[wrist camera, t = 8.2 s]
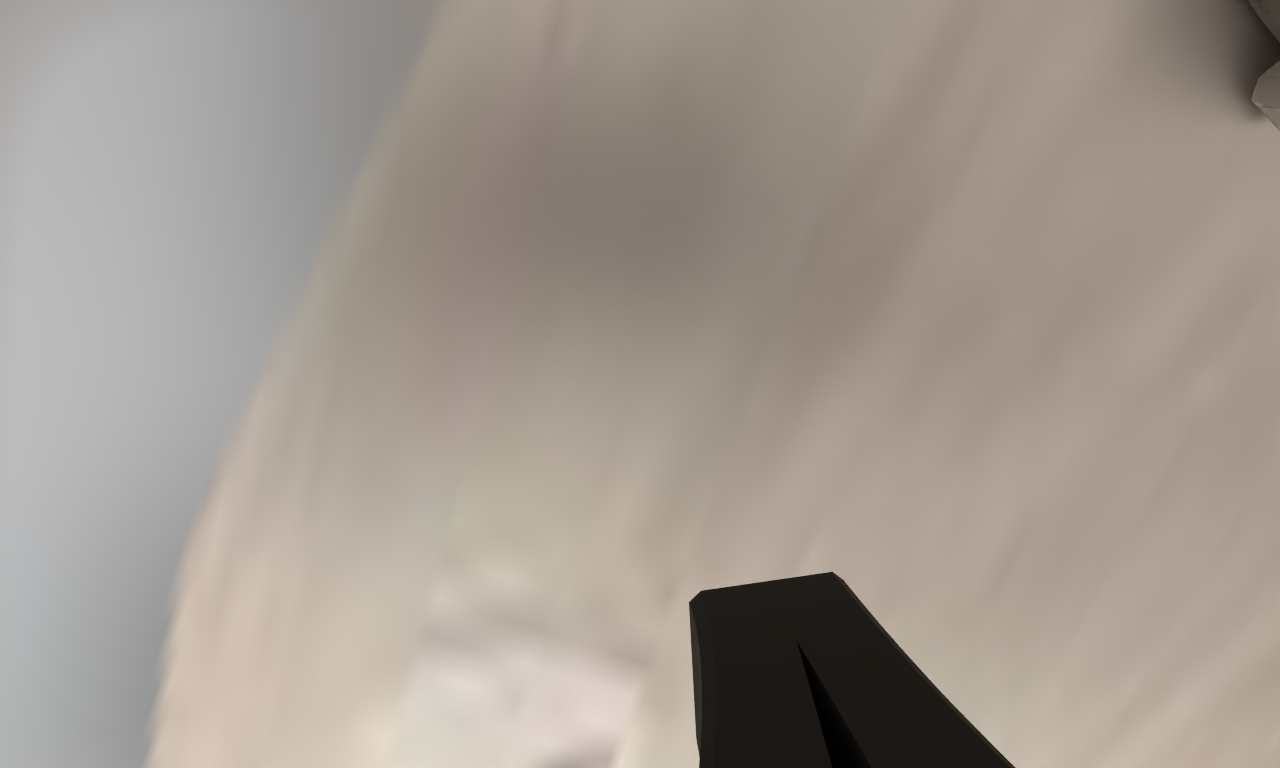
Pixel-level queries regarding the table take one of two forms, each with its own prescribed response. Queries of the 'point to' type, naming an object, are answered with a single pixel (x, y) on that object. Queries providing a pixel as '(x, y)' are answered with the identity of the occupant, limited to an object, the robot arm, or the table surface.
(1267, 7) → the electrical switch
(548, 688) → the table surface
